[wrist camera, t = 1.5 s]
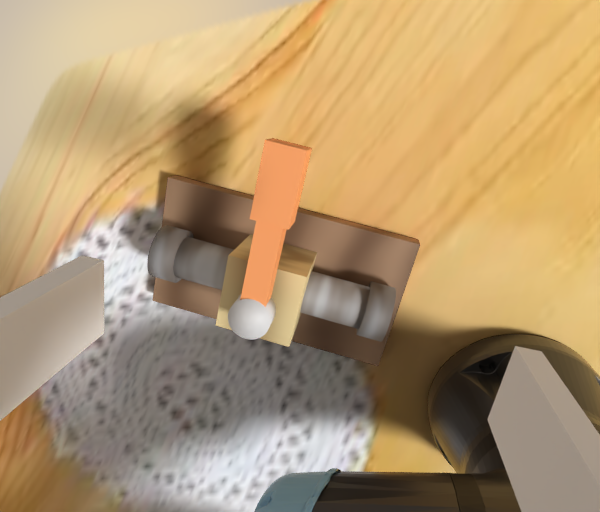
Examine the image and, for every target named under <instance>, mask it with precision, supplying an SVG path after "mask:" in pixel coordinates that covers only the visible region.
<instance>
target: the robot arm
mask: <svg viewBox="0 0 600 512" xmlns="http://www.w3.org/2000/svg"><path fill="white" fill-rule="evenodd" d="M103 334H104V260H101V259H96V258H91V257H87V256H80V257H78V258H76V259H74V260H72V261H70V262H68V263H66V264H64V265H62V266H61V267H59V268H57V269H55V270H53V271H51V272H49V273H47V274H45V275H43V276H41V277H39V278H37V279H35V280H33V281H31V282H29V283H27V284H25V285H23V286H21V287H19V288H17V289H15V290H14V291H12V292H10V293H8V294H6V295H4V296H2V297H0V421H1V420H2V419H3V418H4V417H5V416H7V415H8V414H9V413H10V412H11V411H12V410H14V409H15V408H16V407H17V406H18V405H20V404H21V403H22V402H23V401H24V400H25V399H27V398H28V397H29V396H30V395H31V394H33V393H34V392H35V391H36V390H37V389H39V388H40V387H41V386H42V385H43V384H44V383H46V382H47V381H48V380H49V379H50V378H52V377H53V376H54V375H55V374H56V373H58V372H59V371H60V370H61V369H62V368H63V367H65V366H66V365H67V364H68V363H69V362H71V361H72V360H73V359H74V358H75V357H76V356H78V355H79V354H80V353H81V352H82V351H84V350H85V349H86V348H87V347H88V346H90V345H91V344H92V343H93V342H94V341H95V340H97V339H98V338H99V337H100V336H101V335H103ZM428 415H429V421H430V426H431V431H432V434H433V437H434V440H435V442H436V445H437V447H438V449H439V450H440V452H441V453H442V455H443V456H444V458H445V459H446V460H447V461H448V463H449V464H450V465H451V466H452V467H453V468H454V470H455V471H456V473H412V472H341V470H339V469H333V468H332V469H330V470H329V471H327V472H307V473H291V474H287V475H284V476H282V477H280V478H278V479H277V480H276V481H274V482H273V483H272V484H271V485H270V486H269V487H268V489H267V490H266V491H265V493H264V494H263V496H262V497H261V499H260V501H259V503H258V505H257V507H256V509H255V512H600V376H599V375H598V374H597V373H596V372H595V371H594V369H593V368H592V367H591V366H590V365H589V364H588V363H587V362H586V360H585V359H583V358H582V357H581V356H580V355H579V354H578V353H576V352H575V351H574V350H572V349H571V348H569V347H567V346H565V345H563V344H561V343H559V342H557V341H554V340H551V339H548V338H544V337H540V336H535V335H527V334H509V335H500V336H495V337H490V338H487V339H483V340H481V341H478V342H475V343H473V344H471V345H469V346H467V347H465V348H464V349H462V350H460V351H459V352H457V353H456V354H455V355H453V356H452V357H451V358H450V359H449V360H448V361H447V362H446V363H445V364H444V365H443V366H442V367H441V369H440V370H439V371H438V373H437V374H436V376H435V378H434V380H433V382H432V385H431V387H430V391H429V395H428Z"/></svg>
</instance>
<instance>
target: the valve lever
mask: <svg viewBox="0 0 600 512" xmlns="http://www.w3.org/2000/svg"><path fill="white" fill-rule="evenodd" d="M311 150H312V148H310V147H306V146H302V145H298V144H294V143H290V142H286V141H282V140H278V139H274V138H272V139H267V140H265V143H264V148H263V153H262V158H261V163H260V168H259V173H258V179H257V184H256V189H255V194H254V199H253V204H252V209H251V214H250V219H251V220H255V221H256V224H255V229H254V234H253V239H252V244H251V249H250V254H249V259H248V264H247V269H246V274H245V279H244V284H243V289H242V294H241V295H240V296H239V297H238V299H237V300H236V301H235V303H234V304H233V305H232V307H231V308H230V310H229V312H228V323H229V325H230V327H231V329H232V330H233V332H234V333H235V334H237V335H238V336H240V337H242V338H244V339H250V340H253V339H258V338H260V337H262V336H264V335H265V334H266V333H267V331H268V329H269V327H270V325H271V323H272V321H273V319H274V317H275V314H276V305H275V302H274V300H273V298H272V297H271V296H272V291H273V287H274V282H275V278H276V274H277V269H278V265H279V261H280V256H281V252H282V247H283V243H284V239H285V234H286V230H287V229H288V230H289V229H290V228H291V226H292V225H293V223H294V222H295V219H296V214H297V210H298V206H299V202H300V197H301V193H302V189H303V184H304V180H305V176H306V172H307V167H308V163H309V159H310V155H311Z"/></svg>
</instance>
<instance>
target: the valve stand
mask: <svg viewBox="0 0 600 512" xmlns="http://www.w3.org/2000/svg"><path fill="white" fill-rule="evenodd" d="M253 199H254V196H252V195H248V194H245V193H241V192H237V191H233V190H230V189H226V188H222V187H218V186H215V185H211V184H207V183H203V182H200V181H196V180H192V179H188V178H184V177H181V176H177V175H174V176H171V177H168V181H167V189H166V197H165V205H164V213H163V221H162V228H161V229H160V230H159V231H158V233H157V234H156V236H155V238H154V240H153V242H152V245H151V247H150V251H149V255H148V271H149V274H150V275H151V276H153V277H155V285H154V294H153V301H156V302H159V303H163V304H166V305H170V306H173V307H177V308H180V309H183V310H187V311H190V312H194V313H197V314H201V315H204V316H208V317H211V318H214V319H217V320H216V326H219V327H222V328H226V329H229V330H232V329H231V327H230V325H229V323H228V312H229V310H230V308H231V307H232V305H233V304H234V303H235V301H236V300H237V299H238V297H239V296H240V295H241V294H242V289H243V284H244V279H245V274H246V269H247V264H248V259H249V254H250V249H251V244H252V239H253V234H254V229H255V224H256V221H255V220H251V219H250V214H251V209H252V204H253ZM419 247H420V243H419V240H418V239H414V238H410V237H406V236H403V235H399V234H395V233H391V232H388V231H384V230H380V229H376V228H373V227H369V226H365V225H361V224H357V223H354V222H350V221H346V220H342V219H339V218H335V217H331V216H327V215H324V214H320V213H316V212H312V211H309V210H305V209H301V208H298V210H297V214H296V219H295V222H294V223H293V225H292V226H291V228H290V229H289V230H288V229H287V230H286V234H285V239H284V243H283V247H282V252H281V256H280V261H279V265H278V269H277V274H276V278H275V282H274V287H273V291H272V296H271V297H272V298H273V300H274V302H275V305H276V314H275V317H274V319H273V321H272V323H271V325H270V327H269V329H268V331H267V333H266V334H265V335H264V336H262V337H260V339H263V340H267V341H270V342H273V343H277V344H280V345H284V346H287V347H289V346H290V343H291V341H293V342H297V343H300V344H304V345H307V346H311V347H314V348H317V349H321V350H324V351H328V352H331V353H335V354H338V355H341V356H345V357H348V358H352V359H355V360H359V361H362V362H366V363H369V364H372V365H376V366H378V365H379V363H380V360H381V357H382V354H383V351H384V348H385V345H386V342H387V339H388V337H389V334H390V331H391V328H392V325H393V322H394V319H395V316H396V313H397V310H398V308H399V305H400V302H401V299H402V296H403V293H404V290H405V287H406V284H407V281H408V279H409V276H410V273H411V270H412V267H413V264H414V261H415V258H416V255H417V252H418V250H419ZM232 331H233V330H232Z"/></svg>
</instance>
